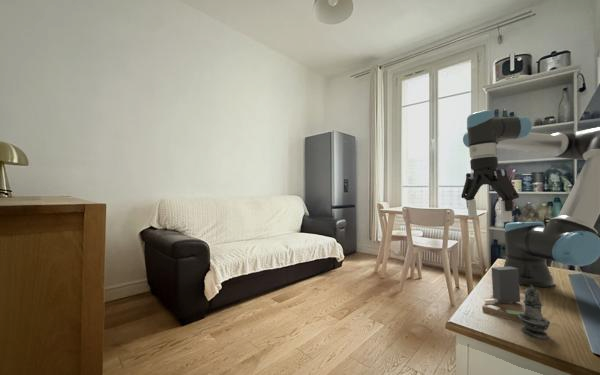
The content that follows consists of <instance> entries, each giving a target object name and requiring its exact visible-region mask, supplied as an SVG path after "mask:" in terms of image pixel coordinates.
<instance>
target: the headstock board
mask: <svg viewBox="0 0 600 375" xmlns="http://www.w3.org/2000/svg"><path fill="white" fill-rule="evenodd" d="M488 299H493V294H492V295H491V296H490V297H489V298H488ZM524 300H525V293H521V292H520V302H513V303H512V304H507V303H499V302H487V303H486V302H484V304H483V305H482V308H481V309H482V312H483V313H488V314H490V315H495V316H498V317H502V318H505V319H507V320H508V319H509V320H512V321H516V322H519V323H522V322H521V320H520V318H519V316H518V315H515V314H508V313H507V311H506V310H512V311H519V312H523V313H525V303H524V302H523V301H524ZM487 305H493V306H496V307H499V308H501V309H499V310H494V309H491V308H489V307H486V306H487Z"/></svg>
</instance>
